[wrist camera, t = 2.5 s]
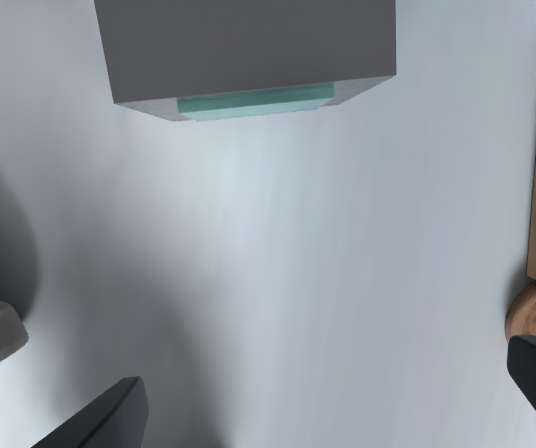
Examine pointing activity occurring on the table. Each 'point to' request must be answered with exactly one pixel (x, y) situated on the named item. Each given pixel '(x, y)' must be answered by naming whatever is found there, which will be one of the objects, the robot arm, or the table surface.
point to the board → (532, 237)
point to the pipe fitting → (10, 331)
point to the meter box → (244, 54)
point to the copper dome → (522, 313)
